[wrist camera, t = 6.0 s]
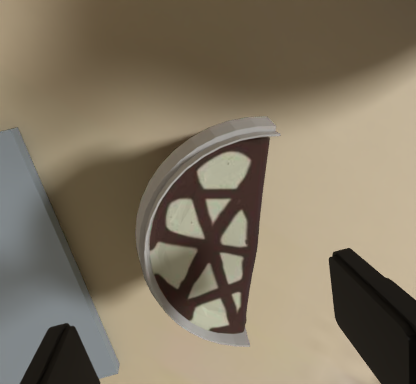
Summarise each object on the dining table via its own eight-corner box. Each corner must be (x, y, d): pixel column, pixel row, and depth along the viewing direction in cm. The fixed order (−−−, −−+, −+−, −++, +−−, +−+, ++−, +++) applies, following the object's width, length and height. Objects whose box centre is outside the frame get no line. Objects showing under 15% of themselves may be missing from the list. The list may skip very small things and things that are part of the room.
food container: (146, 100, 21) (129, 111, 12) (233, 106, 22) (282, 120, 13) (145, 257, 25) (131, 360, 16) (219, 257, 26) (248, 354, 16)
